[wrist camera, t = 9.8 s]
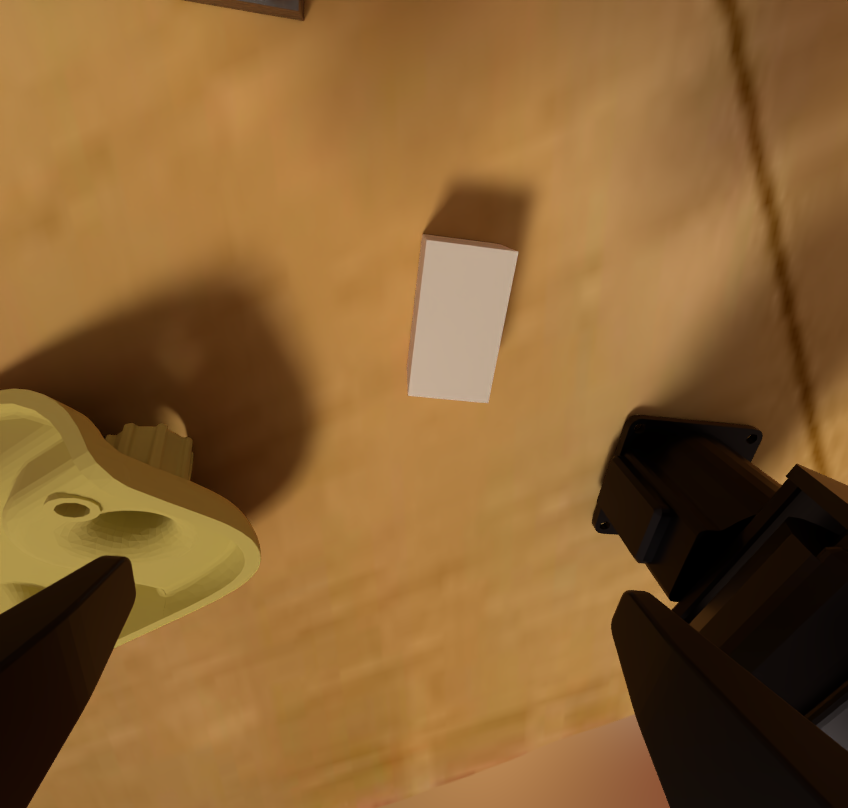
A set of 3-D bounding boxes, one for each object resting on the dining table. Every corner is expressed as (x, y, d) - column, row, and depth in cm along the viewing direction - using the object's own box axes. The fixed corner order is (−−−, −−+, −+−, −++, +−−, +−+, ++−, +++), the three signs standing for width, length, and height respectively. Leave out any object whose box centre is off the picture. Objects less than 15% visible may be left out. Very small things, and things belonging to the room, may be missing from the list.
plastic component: (6, 698, 23) (-319, 692, 16) (52, 560, 28) (-181, 507, 20) (312, 557, 18) (49, 456, 11) (305, 419, 23) (119, 285, 16)
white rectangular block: (499, 243, 17) (518, 251, 14) (475, 374, 19) (488, 403, 17) (422, 233, 17) (426, 240, 14) (406, 367, 19) (407, 395, 16)
